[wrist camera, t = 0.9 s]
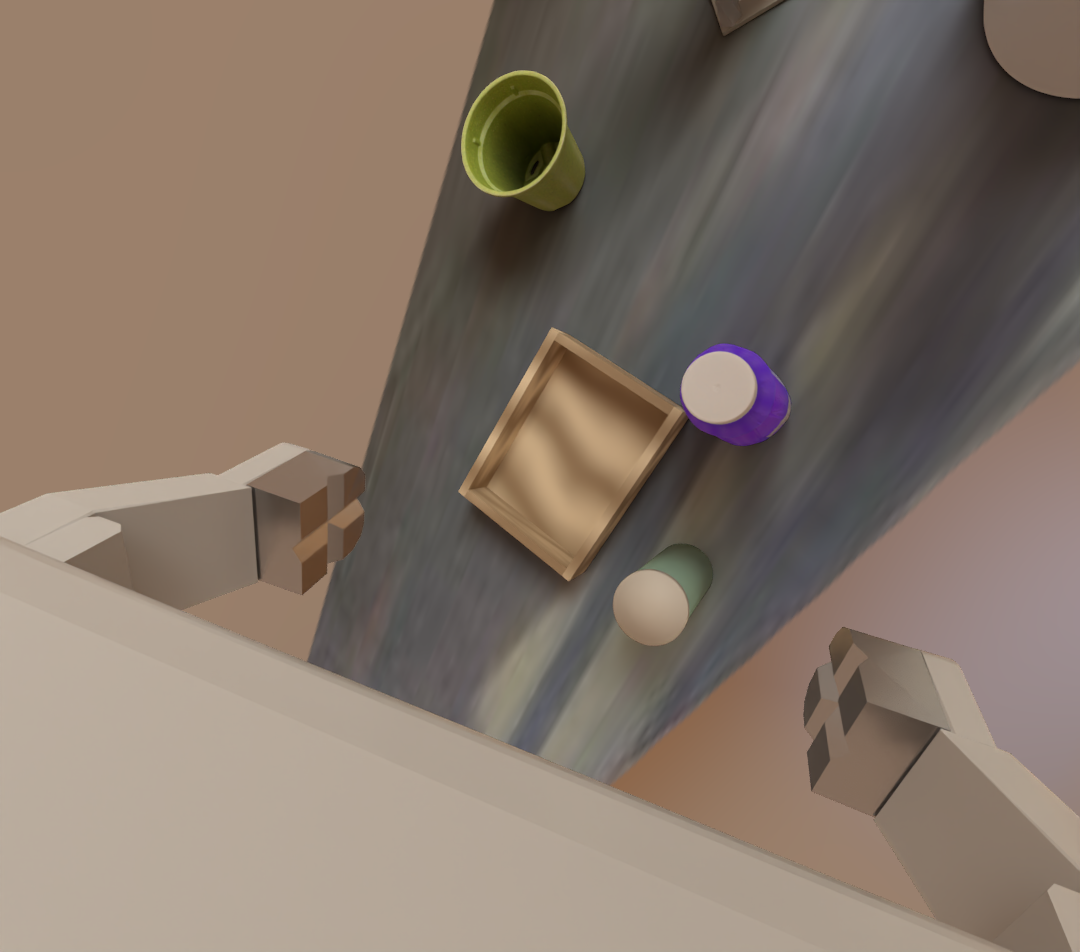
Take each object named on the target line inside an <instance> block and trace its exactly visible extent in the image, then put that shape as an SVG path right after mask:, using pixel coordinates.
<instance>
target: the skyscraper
mask: <svg viewBox="0 0 1080 952" xmlns="http://www.w3.org/2000/svg"><path fill="white" fill-rule="evenodd" d="M711 1H712V4H713V7H714V10H715V13H716V16H717V19H718V22H719V25H720V28H721V31H722V34H723V37H724V36H725V35H727V34H729V33H730V32H732V31H734V30H735V29H737V28H739V27H740V26H742V25H744V24H745V23H747V22H749V21H750V20H752V19H754V18H755V17H757V16H759V15H760V14H762V13H764V12H765V11H767V10H769V9H770V8H772V7H774V6H775V5H777V4H779V3H780V2H782V1H784V0H711Z"/></svg>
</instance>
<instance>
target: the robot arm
mask: <svg viewBox="0 0 1080 952" xmlns="http://www.w3.org/2000/svg"><path fill="white" fill-rule="evenodd" d="M984 29H985V34H986V38H987V41H988V44H989V47H990V49H991V51H992V53H993V55H994V57H995V58H996V60H997V61H998V63H999V64H1000V65H1001V66H1002V67H1003V69H1004V70H1005V71H1006V72H1007V73H1008V74H1010V75H1011V76H1012V77H1013V78H1015V79H1016V80H1017V81H1019V82H1020V83H1022V84H1024V85H1026V86H1028V87H1030V88H1032V89H1034V90H1037V91H1039V92H1042V93H1045V94H1049V95H1053V96H1059V97H1065V98H1079V99H1080V0H984ZM364 491H365V473H364V472H363V470H362V469H361V468H360V467H358V466H355V465H352V464H349V463H346V462H343V461H340V460H338V459H335V458H332V457H329V456H326V455H324V454H320V453H318V452H315V451H311V450H309V449H307V448H303V447H300V446H297V445H294V444H290V443H280V444H279V445H276V446H274V447H272V448H270V449H268V450H267V451H265V452H263V453H261V454H259V455H257V456H255V457H253V458H251V459H249V460H247V461H245V462H243V463H241V464H239V465H238V466H236V467H233V468H232V469H230V470H228V471H226V472H224V473H222V474H220V475H218V476H217V475H214V474H211V473H207V474H199V475H191V476H183V477H175V478H167V479H160V480H151V481H143V482H135V483H127V484H120V485H111V486H104V487H96V488H88V489H80V490H72V491H64V492H56V493H48V494H45V495H42V496H40V497H38V498H35V499H33V500H31V501H28V502H26V503H23V504H21V505H19V506H16V507H14V508H11V509H9V510H7V511H4V512H2V513H0V952H1080V817H1079V816H1077V814H1075V813H1074V812H1073V811H1072V810H1071V809H1070V808H1069V807H1068V806H1067V805H1066V804H1065V803H1064V802H1062V801H1061V800H1060V799H1059V798H1058V797H1057V796H1056V795H1055V794H1054V793H1053V792H1052V791H1051V790H1049V789H1048V788H1047V787H1046V786H1045V785H1044V784H1043V783H1042V782H1041V781H1040V780H1039V779H1037V778H1036V777H1035V776H1034V775H1033V774H1032V773H1031V772H1030V771H1029V770H1028V769H1027V768H1026V767H1025V766H1023V765H1022V764H1021V763H1020V762H1019V761H1018V760H1017V759H1016V758H1015V757H1014V756H1013V755H1012V754H1011V753H1008V752H1006V751H1003V750H1000V749H997V747H996V745H995V743H994V740H993V738H992V736H991V734H990V731H989V729H988V727H987V725H986V723H985V721H984V718H983V716H982V714H981V712H980V709H979V707H978V705H977V703H976V701H975V698H974V696H973V694H972V692H971V690H970V688H969V685H968V683H967V681H966V679H965V676H964V674H963V672H962V670H961V667H960V666H959V665H958V664H957V663H956V662H955V661H954V660H952V659H949V658H945V657H942V656H939V655H936V654H932V653H929V652H925V651H922V650H918V649H914V648H910V647H907V646H904V645H900V644H897V643H894V642H891V641H888V640H884V639H881V638H878V637H874V636H871V635H868V634H865V633H861V632H858V631H855V630H852V629H848V628H845V627H842V628H841V629H840V630H839V631H838V632H837V634H836V635H835V637H834V638H833V640H832V642H831V644H830V645H829V650H830V655H831V662H829V663H827V664H825V665H823V666H820V667H818V668H817V669H816V671H815V673H814V675H813V677H812V679H811V681H810V683H809V686H808V690H807V694H806V697H805V701H804V726H805V729H806V730H807V732H808V733H809V734H810V736H811V737H812V738H813V740H814V741H813V743H812V745H811V747H810V748H809V750H808V752H807V756H808V765H809V774H810V783H811V791H812V792H814V793H817V794H819V795H822V796H824V797H826V798H829V799H831V800H834V801H836V802H838V803H841V804H844V805H846V806H848V807H851V808H853V809H855V810H858V811H860V812H863V813H865V814H868V815H870V816H873V817H875V819H874V821H875V823H876V825H877V826H878V828H879V829H880V831H881V832H882V834H883V835H884V837H885V839H886V840H887V842H888V843H889V845H890V847H891V848H892V850H893V852H894V853H895V855H896V856H897V858H898V860H899V861H900V863H901V864H902V866H903V867H904V869H905V871H906V872H907V874H908V875H909V877H910V879H911V880H912V882H913V883H914V885H915V887H916V888H917V890H918V891H919V893H920V894H921V896H922V898H923V899H924V901H925V902H926V904H927V906H928V907H929V909H930V910H931V912H932V913H933V915H934V917H935V918H936V919H934V918H931V917H929V916H926V915H924V914H922V913H919V912H917V911H914V910H912V909H909V908H907V907H904V906H902V905H900V904H897V903H894V902H892V901H890V900H887V899H885V898H882V897H880V896H877V895H875V894H872V893H870V892H867V891H865V890H863V889H860V888H858V887H855V886H853V885H850V884H848V883H845V882H842V881H840V880H838V879H835V878H833V877H830V876H828V875H825V874H823V873H821V872H818V871H815V870H813V869H811V868H808V867H806V866H803V865H801V864H798V863H796V862H794V861H791V860H789V859H786V858H784V857H781V856H779V855H777V854H774V853H772V852H769V851H767V850H765V849H762V848H760V847H757V846H754V845H752V844H750V843H748V842H745V841H742V840H740V839H738V838H735V837H733V836H731V835H728V834H725V833H723V832H721V831H718V830H716V829H714V828H711V827H709V826H706V825H704V824H701V823H699V822H696V821H694V820H691V819H689V818H687V817H684V816H682V815H679V814H677V813H675V812H672V811H670V810H667V809H664V808H662V807H660V806H658V805H655V804H653V803H650V802H648V801H645V800H643V799H641V798H638V797H636V796H633V795H631V794H628V793H626V792H624V791H621V790H618V789H616V788H614V787H611V786H609V785H607V784H604V783H602V782H599V781H597V780H594V779H592V778H590V777H587V776H585V775H582V774H580V773H577V772H575V771H573V770H570V769H568V768H565V767H563V766H560V765H558V764H556V763H553V762H551V761H548V760H546V759H543V758H541V757H538V756H536V755H534V754H531V753H529V752H526V751H524V750H521V749H519V748H516V747H514V746H511V745H509V744H507V743H504V742H502V741H499V740H497V739H494V738H492V737H489V736H487V735H485V734H482V733H480V732H477V731H475V730H472V729H470V728H467V727H465V726H462V725H460V724H458V723H455V722H453V721H450V720H448V719H445V718H443V717H440V716H438V715H436V714H433V713H431V712H428V711H426V710H423V709H421V708H418V707H416V706H413V705H411V704H409V703H406V702H404V701H401V700H399V699H396V698H394V697H391V696H389V695H387V694H384V693H382V692H379V691H377V690H374V689H372V688H369V687H367V686H364V685H362V684H360V683H357V682H355V681H352V680H350V679H347V678H345V677H342V676H340V675H338V674H335V673H333V672H330V671H328V670H325V669H323V668H320V667H318V666H316V665H313V664H311V663H308V662H306V661H303V660H301V659H299V658H296V657H294V656H291V655H289V654H286V653H284V652H281V651H279V650H277V649H274V648H271V647H269V646H267V645H264V644H262V643H260V642H257V641H255V640H252V639H250V638H247V637H245V636H242V635H240V634H237V633H235V632H233V631H230V630H228V629H225V628H223V627H220V626H218V625H216V624H213V623H211V622H208V621H206V620H203V619H201V618H199V617H196V616H194V615H191V614H189V613H186V612H184V611H181V610H183V609H186V608H188V607H191V606H194V605H197V604H200V603H202V602H205V601H208V600H211V599H213V598H216V597H219V596H222V595H224V594H227V593H230V592H232V591H235V590H238V589H241V588H244V587H246V586H249V585H252V584H255V583H257V582H258V580H260V581H263V582H266V583H269V584H272V585H274V586H277V587H280V588H283V589H286V590H288V591H291V592H294V593H297V594H300V595H303V594H304V593H305V592H306V591H308V590H309V589H310V588H311V587H312V586H313V585H314V584H315V583H317V582H318V581H319V580H320V579H321V578H322V577H324V575H326V574H327V563H331V562H335V561H339V560H342V559H344V558H345V557H346V556H347V555H348V554H349V553H350V552H351V551H352V550H353V549H354V547H355V545H356V544H357V542H358V540H359V538H360V537H361V533H362V529H363V525H364V513H365V512H364V510H363V508H362V506H361V504H360V503H359V501H358V499H357V498H358V497H359V496H360V495H361V494H362V493H363V492H364Z"/></svg>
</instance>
